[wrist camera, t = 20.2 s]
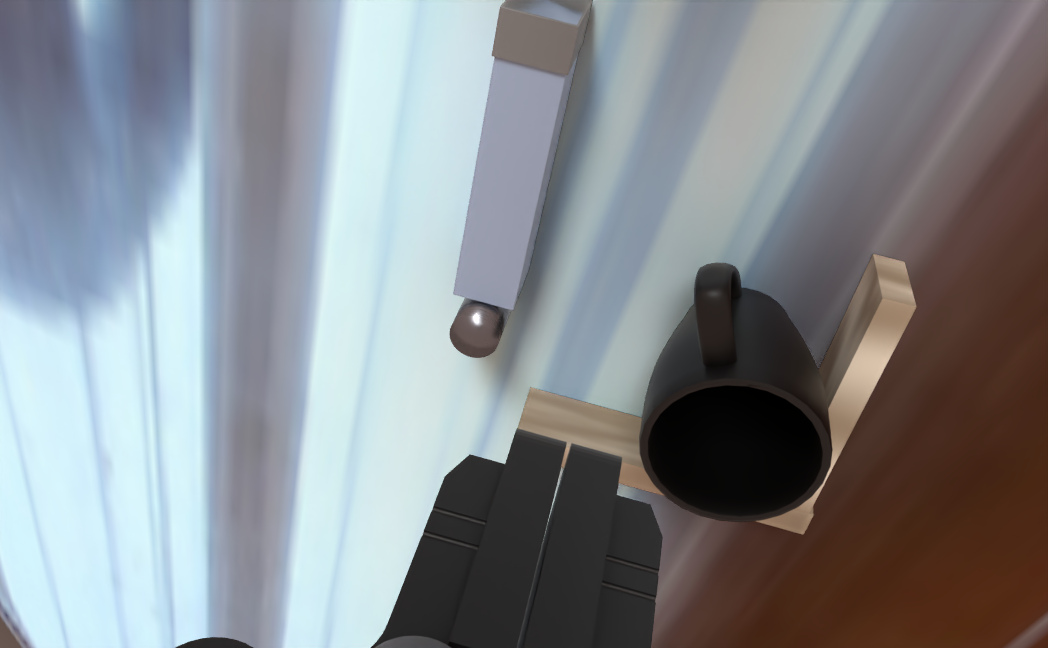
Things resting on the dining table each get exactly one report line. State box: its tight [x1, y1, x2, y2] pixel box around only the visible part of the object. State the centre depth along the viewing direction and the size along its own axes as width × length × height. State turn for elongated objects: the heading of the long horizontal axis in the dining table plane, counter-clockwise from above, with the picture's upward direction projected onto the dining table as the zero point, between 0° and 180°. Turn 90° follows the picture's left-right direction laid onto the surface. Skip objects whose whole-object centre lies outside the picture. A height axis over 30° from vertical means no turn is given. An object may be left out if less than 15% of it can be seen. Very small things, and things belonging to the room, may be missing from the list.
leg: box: [453, 0, 593, 310], centre depth 43 cm, size 14×3×4 cm, turn 169°
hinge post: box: [450, 297, 511, 358], centre depth 48 cm, size 2×2×5 cm
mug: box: [639, 263, 833, 522], centre depth 44 cm, size 8×12×10 cm
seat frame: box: [518, 254, 916, 534], centre depth 48 cm, size 15×16×4 cm
